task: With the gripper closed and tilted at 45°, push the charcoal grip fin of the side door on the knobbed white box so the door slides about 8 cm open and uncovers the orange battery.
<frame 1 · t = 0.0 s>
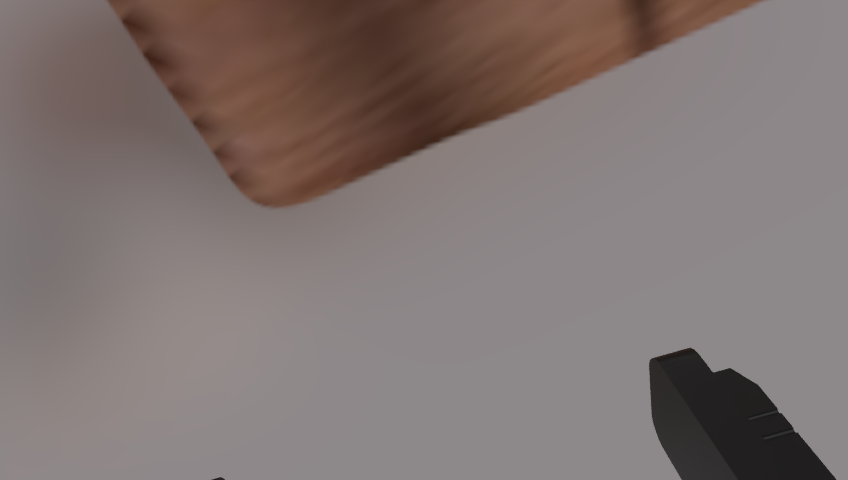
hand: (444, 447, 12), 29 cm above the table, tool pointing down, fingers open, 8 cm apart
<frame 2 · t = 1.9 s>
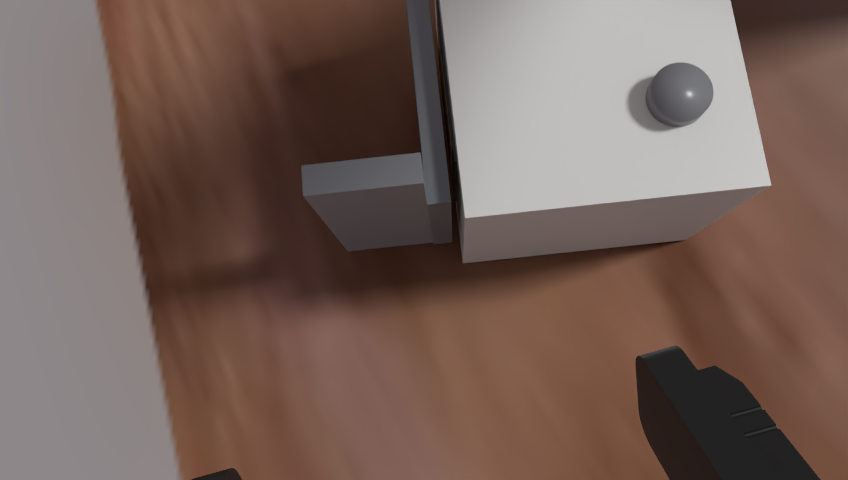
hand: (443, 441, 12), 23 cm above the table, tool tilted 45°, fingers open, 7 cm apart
knobbed white box: (555, 130, 37), on the table
side door: (381, 119, 31), point 6 cm above the table, slide at 0.0 cm
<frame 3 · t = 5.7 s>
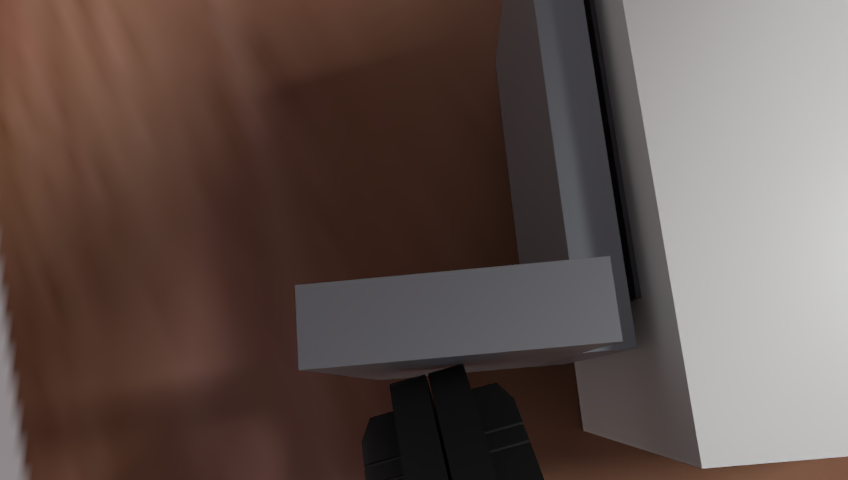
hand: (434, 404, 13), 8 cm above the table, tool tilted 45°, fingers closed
knobbed white box: (737, 193, 22), on the table
side door: (458, 150, 16), point 7 cm above the table, slide at 1.0 cm, touching gripper
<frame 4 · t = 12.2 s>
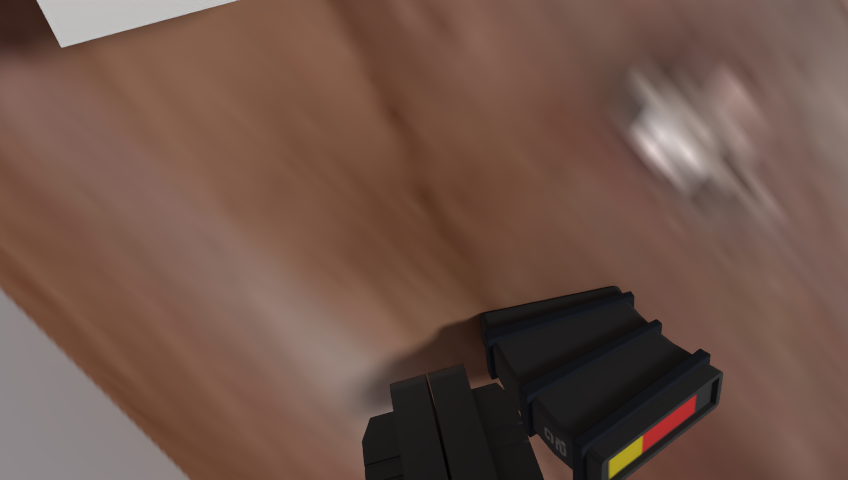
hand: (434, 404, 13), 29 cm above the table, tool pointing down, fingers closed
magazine: (563, 309, 51), on the table
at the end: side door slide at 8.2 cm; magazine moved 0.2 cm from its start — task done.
